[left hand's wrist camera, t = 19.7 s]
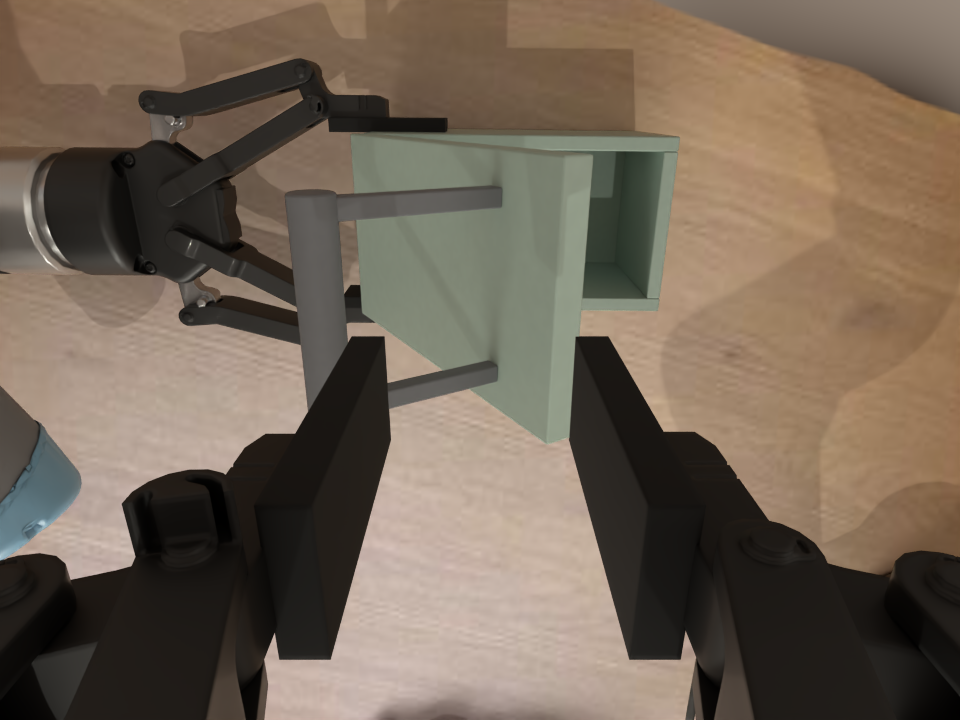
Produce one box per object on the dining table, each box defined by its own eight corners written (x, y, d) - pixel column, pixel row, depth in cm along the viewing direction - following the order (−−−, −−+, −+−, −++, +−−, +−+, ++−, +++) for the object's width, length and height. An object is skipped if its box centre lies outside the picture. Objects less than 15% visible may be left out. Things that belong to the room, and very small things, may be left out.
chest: (635, 130, 41) (680, 136, 32) (621, 270, 45) (658, 311, 36) (388, 127, 41) (362, 133, 32) (394, 268, 45) (372, 308, 35)
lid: (594, 154, 18) (322, 163, 14) (572, 437, 22) (350, 510, 18) (370, 133, 32) (198, 135, 27) (380, 310, 35) (229, 334, 31)
